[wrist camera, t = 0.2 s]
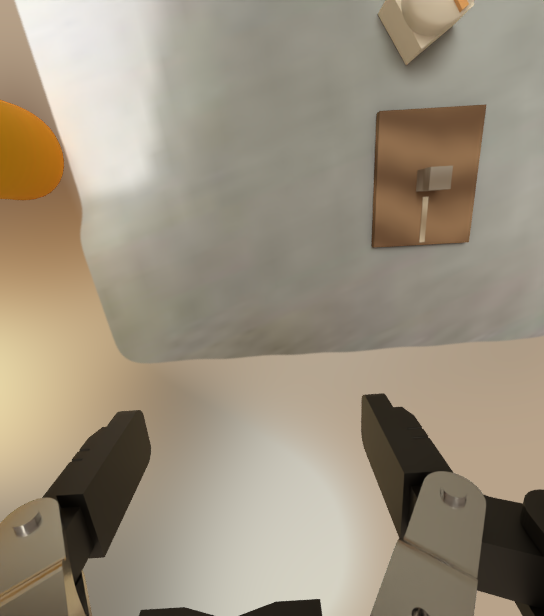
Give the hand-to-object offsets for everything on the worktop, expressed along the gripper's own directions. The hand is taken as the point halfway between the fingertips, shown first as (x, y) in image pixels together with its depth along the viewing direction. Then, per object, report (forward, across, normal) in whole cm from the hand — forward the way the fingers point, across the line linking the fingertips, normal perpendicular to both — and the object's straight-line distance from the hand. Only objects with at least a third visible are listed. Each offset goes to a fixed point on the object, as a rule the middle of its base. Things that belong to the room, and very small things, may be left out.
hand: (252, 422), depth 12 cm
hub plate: (+29, -19, -9) cm, 35 cm away
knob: (+29, -17, -24) cm, 41 cm away
